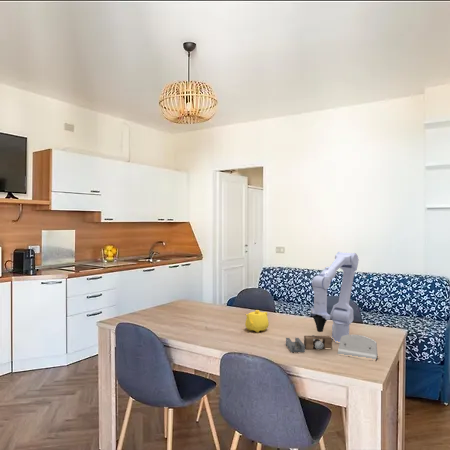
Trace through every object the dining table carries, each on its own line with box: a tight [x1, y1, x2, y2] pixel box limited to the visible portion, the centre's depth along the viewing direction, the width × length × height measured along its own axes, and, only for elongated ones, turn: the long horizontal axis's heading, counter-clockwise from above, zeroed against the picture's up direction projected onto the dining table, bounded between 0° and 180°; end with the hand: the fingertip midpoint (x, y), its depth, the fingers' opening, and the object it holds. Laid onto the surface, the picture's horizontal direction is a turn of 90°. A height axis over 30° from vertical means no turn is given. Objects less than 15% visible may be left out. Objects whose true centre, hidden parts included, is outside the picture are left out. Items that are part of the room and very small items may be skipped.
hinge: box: [337, 334, 379, 360], centre depth 170 cm, size 17×5×10 cm, turn 62°
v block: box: [285, 337, 306, 353], centre depth 178 cm, size 12×6×3 cm, turn 3°
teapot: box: [245, 309, 270, 334], centre depth 207 cm, size 18×11×11 cm, turn 135°
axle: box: [311, 334, 324, 350], centre depth 182 cm, size 10×4×4 cm, turn 3°
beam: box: [303, 335, 333, 350], centre depth 179 cm, size 4×12×5 cm, turn 93°
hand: (319, 331), depth 177 cm, fingers closed
